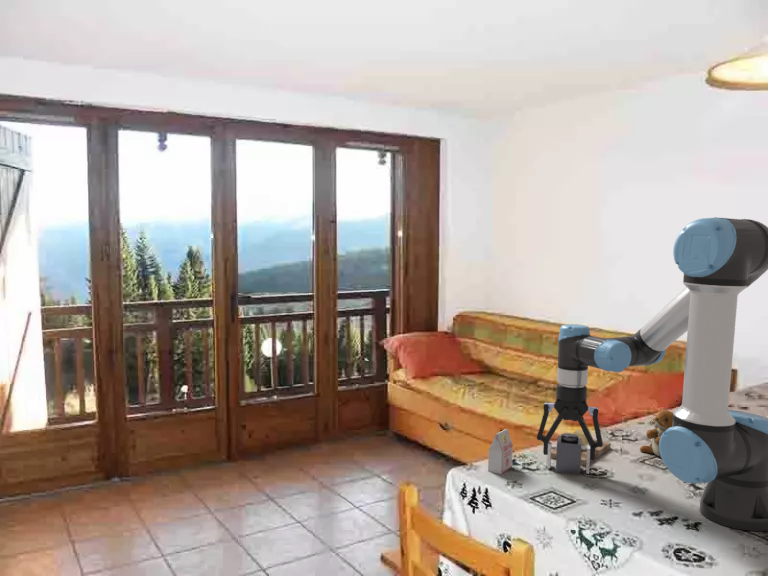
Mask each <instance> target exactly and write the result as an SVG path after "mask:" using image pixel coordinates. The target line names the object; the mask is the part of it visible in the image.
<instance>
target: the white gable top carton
mask: <svg viewBox="0 0 768 576" xmlns="http://www.w3.org/2000/svg"><path fill="white" fill-rule="evenodd" d="M513 447H514V445H513V442H512V439H511V437H510V433H509V429H508V428H505V429H503V430H502V431H499V432H497V433H495V434H494V438H493V441H492V442H491V444H490V446H489V447H488V456H487V457H488V459H487V460H488V461H487V463H488V465H487V471H488V472H489V473H495V474H499V475H502V474H504V473H505V472H507V471H508V470H510V469H511V468H512V467H513V453H514V451H513Z"/></svg>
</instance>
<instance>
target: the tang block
mask: <svg viewBox="0 0 768 576" xmlns="http://www.w3.org/2000/svg"><path fill="white" fill-rule="evenodd" d="M573 434H576V435H578V436H579V438H582V449H581V466H584V467H586V464H587V446H590V445H589V443H588V441H587V439H586V437H585V435H584V432H583V430H582V429H576V430H575V431H574V432H573ZM593 440H594V441H597V439H594V438H593ZM602 441H603V446H602V447H597V448H595V459H596V458H599V457H600V455H603V454H604V453H606V452H607V451H609V450H610V449H611V444H612V443H611V442H608V441H604V440H602ZM556 455H557V447H556V448H553V450H552V449H551V459H554V460H556ZM591 462H593V460H590V463H591Z"/></svg>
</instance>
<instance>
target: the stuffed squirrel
mask: <svg viewBox="0 0 768 576" xmlns="http://www.w3.org/2000/svg"><path fill="white" fill-rule="evenodd" d="M673 413H674V412H672V411H670V410H668V409H665V408H662V409H661V410H660V411H659V413H658V414H657V415H656V416H655V417H654V418H652V419H651V420H650V421H649V422H650V425H651V426H652V425H653V423H654V425H655V426H656V428H653V429H649V430H647V431H646V437H647V439H648V440H649V439H650V440H651V443H650V444H649V445H642V446H640V447H639V451H640V452H641V453H647V454H654V455H655V456H657V457H659V458H661V455H660V450H659V441H660V438H661V435H662V434H663V433H664V432H665V431H666V430H667V429H668V428H670V427H672V424H673Z"/></svg>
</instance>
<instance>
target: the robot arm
mask: <svg viewBox="0 0 768 576" xmlns="http://www.w3.org/2000/svg"><path fill="white" fill-rule="evenodd" d="M672 253H673V255H672V256H673V260H674V263H675V264H676V265H677V267H678V269H679V271H681V272H682V273H683V281H682V284H683V285H684V286H685V287H684V289H682V290H681V292H680V293H678V294H677V295H676V296H675V297H674V298H673V299H671V300H670V301H669V302H668V303H667V304H666V305H665V306H664V307H663V308H662V309H661V310H659V312H657V313H656V314H655V315H654V316H653V317H652V318H651V319H650V320H648V322H646V323H645V324H644V325H643V326H642V327H641V328H640V329H639V330H638V331H636V332H635V333H634V334H633V335H630V336H629V335H628V336H616V337H599V336H594V335H591V333H590V331H591V330H590V327H589V326H587V325H584V324H577V323H575V324H574V323H568V324H562V325H561V326H560V328H559V332H558V339H557V342H558V345H557V346H558V349H557V369H556V370H557V372H556V373H557V375H556V382H557V385H556V393H555V394H556V396H555V398H556V399H555V402H548V401H545V402H544V404H543V415H542V418H541V422H540V426H539V428H538V432H537V436H536V439H537V440H538V441H541V442H543V447H542V448H543V449H542V451H543V452H542V453H543V455H545V456H547V459H546V460H547V461H546V462H547V464H546V468H547V469H549V470H550V469H551V465H552V458H551V451H552V442H553V441H551V438H552V437H553V435H555V434H554V433H555V431H556V430H557V429H558V428H559V426H560V424H561V422H562V421H573V422H578V424H579V426H580V428H581V430H582V431H583V432H584V435H585V437H586V439H587V441H588V443H589V445H590V446H587V464H586V465H585V467H586V468H585V474H588V475H589V474H590V463H591V462H590V460H592V462H593V461H595V459H596V458H595V448H597V447H602V446H603V441H604V440H603V437H602V433H601V427H600V423H599V417H598V416H599V407H598V406H595V407H593V406H589V405H588V402H587V399H588V398H587V397H588V396H587V394H588V387H587V386H586V385H587V384H588V374H589V372H588V371H589V367H590V368H595V369H598V370H602V371H605V372H613V373H621V372H623V371H624V370H626V369H627V368H629V367H639V366H646V367H647V366H652V365H654V364H655V365H656V364H658V363H660V362H661V361H662V360H663V359H664V357H665V354H666V351H667V349H668V348H669V346H671V345H672V344H674V343H675V342H676V341H677V340H678V339H679V338H681V336H683V335H684V334H685V333H687V336H686V348H685V360H684V371H683V372H684V375H683V388H682V401H681V405H680V406H679V407H677V408H676V409H675V410H673V412H672V413H673V424H672V427H670V428H668V429H667V430H666V431H665V432H664V433H663V434H662V435H661V438H660V441H659V450H660V455H661V457H660V458H661V460H662V462H663V464H664V465H665V466H666V467H667V469H668V471H669V472H670V473H671V474H672V475H673V476H674V477H675V478H677V479H678V480H680V481H681V482H685V483H687V484H695V485H696V484H706V486H705V488H704V490H703V492H702V494H701V497H700V500H699V512H700V513H701V514H702V515H703V517H705V518H707V519H708V520H710V521H712V522H714V523H716V524H720V525H722V526H725V527H729V528H732V529H737V530H742V531H743V530H744V531H751V532H766V531H768V418H767V417H766V416H762V415H760V414H757V413H756V414H755V413H750V412H745V411H742V410H736V409H729V405H730V394H731V393H730V392H731V379H732V369H733V368H732V367H733V359H734V358H733V357H734V343H735V332H736V321H737V320H736V319H737V308H738V307H737V306H738V296H739V294H740V293H742V292H743V291H744V290H745V289H747V288H748V287H750V286H751V285H752V284H753V283H754V282H756V281H758V279H760V278H761V276H762V275H764V274H765V273H766V272H767V271H768V226H767V225H766V224H764V223H762V222H760V221H758V220H754V219H747V218H742V219H741V218H739V219H737V218H728V217H716V216H715V217H705V218H698V219H695V220H693V221H691V222H689V223H688V224H686V226H685V227H684V228H682V229H681V230H680V232H679V233H678V235H677V236H676V239H675V242H674V245H673V252H672ZM553 408H554V409H555V411H556V412H557V414H558V415H557V416H556V418H555V419H554V422H553V423H552V425H551V427H550V428H549V430H548V431H547V433H546V435H544V432H545V427H546V424H547V421H548V417H549V414H550V413H551V412H552V410H553ZM587 412H589V416H591V417H592V423H593V428H594V432H595V438H596V439H594V438H593V436H592V434H591V432H590V429H589V427H588V425H587V423H586V421H585V419H584V416H585V414H586V413H587ZM593 439H594V440H597V441H594V440H593Z"/></svg>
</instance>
